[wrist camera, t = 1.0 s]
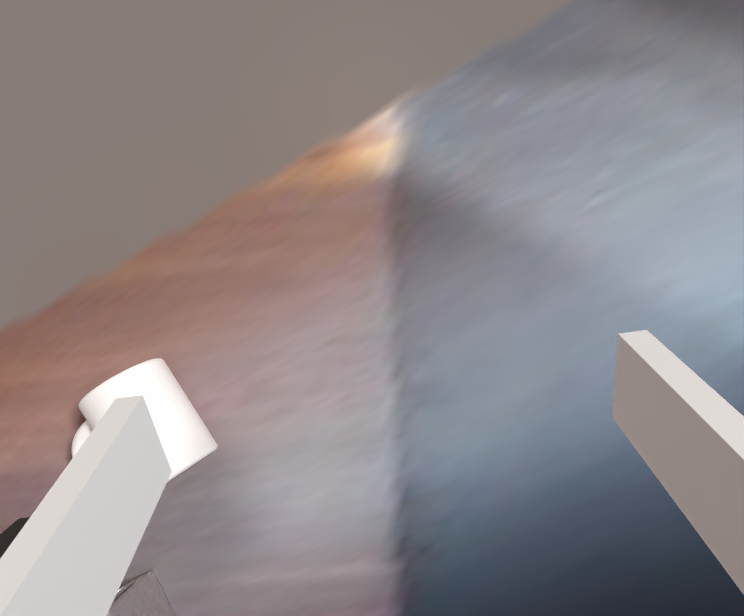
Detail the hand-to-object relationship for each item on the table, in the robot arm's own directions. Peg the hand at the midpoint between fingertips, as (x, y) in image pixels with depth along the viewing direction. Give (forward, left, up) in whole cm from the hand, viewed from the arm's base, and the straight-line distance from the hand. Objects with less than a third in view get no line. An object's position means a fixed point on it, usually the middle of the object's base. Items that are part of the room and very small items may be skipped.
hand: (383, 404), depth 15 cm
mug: (+4, +27, -34) cm, 44 cm away
